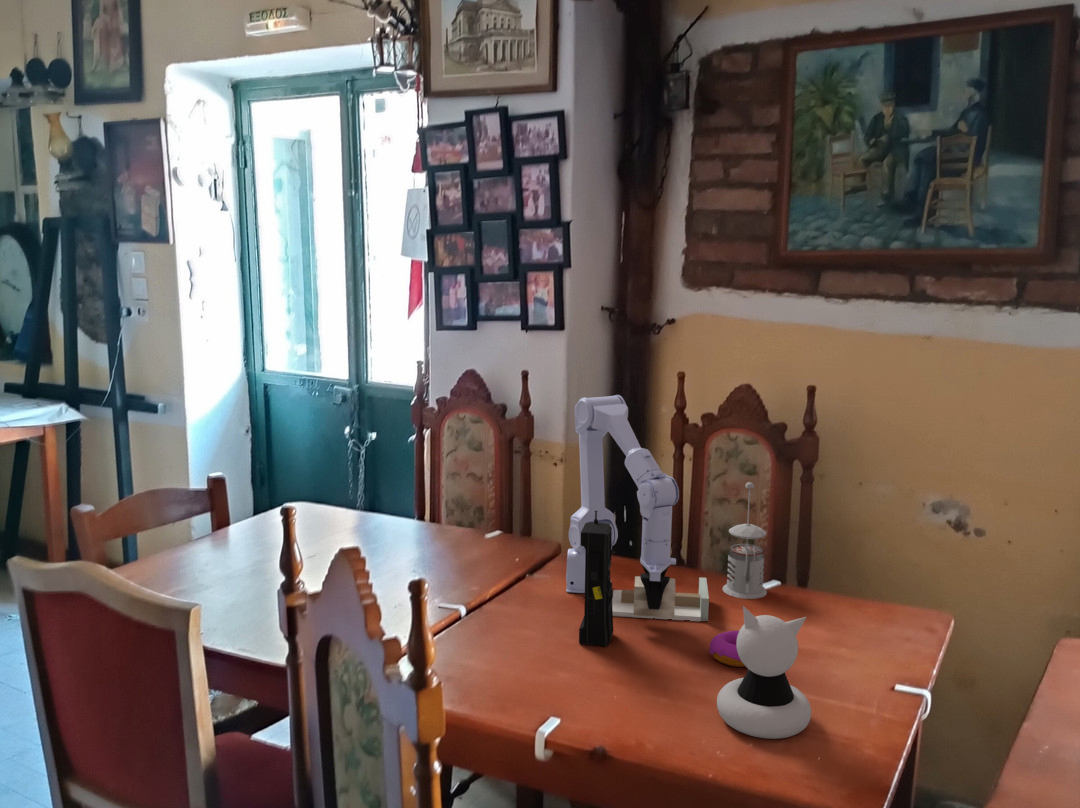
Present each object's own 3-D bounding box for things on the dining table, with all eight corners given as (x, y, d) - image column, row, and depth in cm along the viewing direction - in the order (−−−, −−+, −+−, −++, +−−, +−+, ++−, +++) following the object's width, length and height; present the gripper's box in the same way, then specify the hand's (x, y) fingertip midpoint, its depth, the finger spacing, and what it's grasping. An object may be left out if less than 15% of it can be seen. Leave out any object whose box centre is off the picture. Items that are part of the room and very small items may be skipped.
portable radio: (609, 650, 169) (612, 523, 165) (577, 647, 170) (579, 521, 166) (614, 632, 177) (616, 511, 172) (584, 630, 178) (586, 509, 174)
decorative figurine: (793, 697, 152) (800, 586, 148) (823, 744, 137) (831, 622, 134) (707, 698, 151) (712, 586, 148) (728, 745, 137) (734, 622, 133)
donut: (738, 643, 173) (739, 621, 172) (777, 663, 164) (779, 640, 163) (698, 655, 167) (699, 632, 167) (736, 677, 159) (737, 653, 158)
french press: (763, 583, 204) (769, 477, 199) (771, 603, 192) (777, 491, 188) (720, 581, 205) (724, 476, 200) (725, 600, 193) (730, 489, 189)
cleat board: (610, 615, 185) (610, 592, 184) (613, 594, 197) (614, 572, 196) (707, 621, 182) (708, 598, 181) (705, 599, 194) (706, 577, 193)
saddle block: (633, 615, 177) (634, 586, 175) (634, 604, 182) (635, 576, 181) (674, 617, 175) (675, 589, 174) (673, 606, 181) (675, 578, 180)
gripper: (677, 550, 168) (674, 618, 171) (676, 527, 183) (673, 590, 185) (639, 548, 169) (637, 616, 172) (641, 525, 183) (639, 588, 186)
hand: (654, 602), depth 178 cm, fingers closed on saddle block, 6 cm apart
